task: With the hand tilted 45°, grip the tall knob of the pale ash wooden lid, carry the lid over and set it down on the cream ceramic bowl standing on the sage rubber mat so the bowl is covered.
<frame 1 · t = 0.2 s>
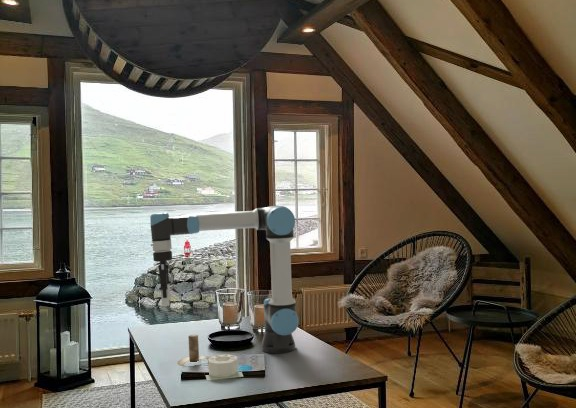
hand: (166, 302, 233), 27 cm above the table, tool pointing down, fingers open, 13 cm apart
lid: (194, 362, 240), on the table
mat: (223, 374, 224), on the table
bowl: (223, 372, 224), resting on mat
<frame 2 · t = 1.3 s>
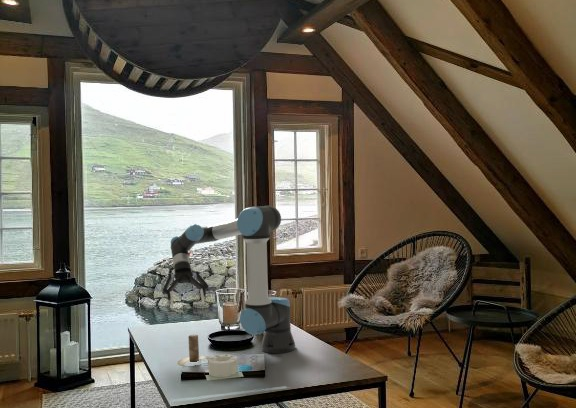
hand: (188, 304, 250), 23 cm above the table, tool tilted 45°, fingers open, 13 cm apart
nothing on the table moved.
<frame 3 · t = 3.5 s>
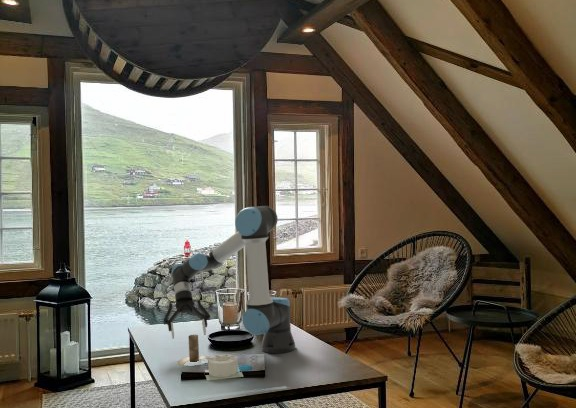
hand: (189, 335, 245), 10 cm above the table, tool tilted 45°, fingers open, 13 cm apart
nothing on the table moved.
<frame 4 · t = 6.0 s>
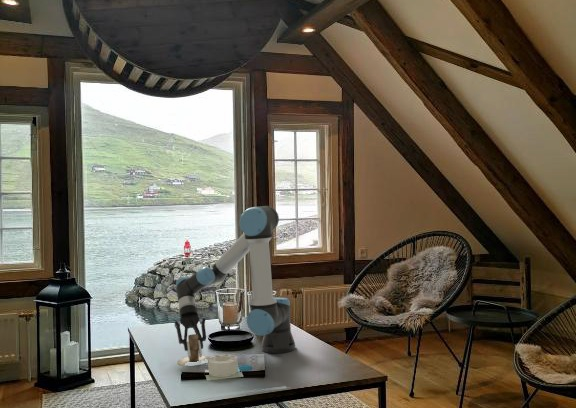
hand: (195, 356, 237), 4 cm above the table, tool tilted 45°, fingers closed on lid, 4 cm apart
lid: (194, 362, 240), on the table, touching gripper
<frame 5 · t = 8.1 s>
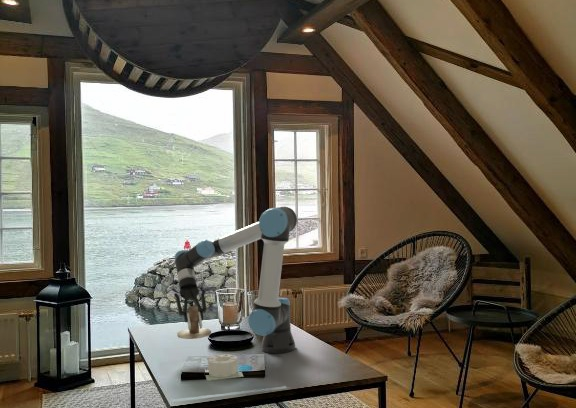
hand: (195, 327, 235), 16 cm above the table, tool tilted 45°, fingers closed on lid, 4 cm apart
lid: (194, 334, 238), point 12 cm above the table, touching gripper
when the fingers open (11 cm above the table, at t = 10.5 s): lid drops 1 cm, resting on bowl.
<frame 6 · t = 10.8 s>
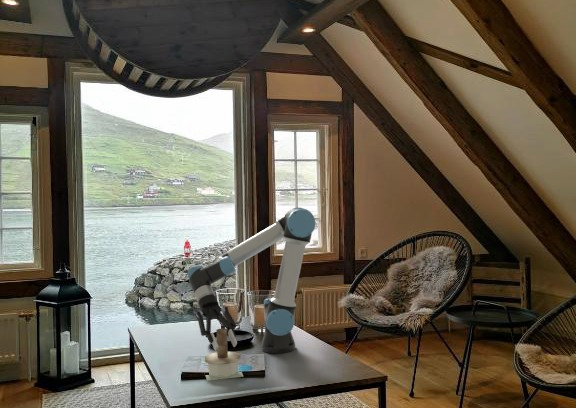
hand: (226, 346, 221), 12 cm above the table, tool tilted 45°, fingers open, 7 cm apart
lid: (222, 358, 224), point 6 cm above the table, touching bowl
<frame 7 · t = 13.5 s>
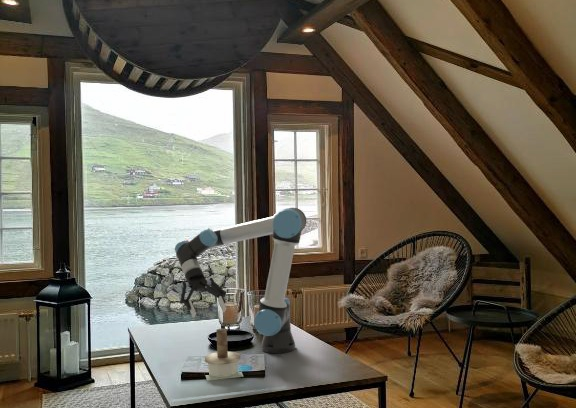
hand: (209, 313, 232), 22 cm above the table, tool tilted 45°, fingers open, 13 cm apart
nothing on the table moved.
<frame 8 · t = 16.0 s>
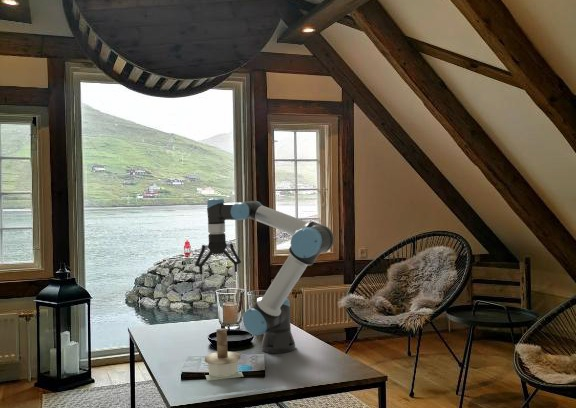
hand: (218, 280, 255), 32 cm above the table, tool pointing down, fingers open, 13 cm apart
nothing on the table moved.
at the end: lid 0.1 cm from the bowl (horizontally); lid point 6.1 cm above the table; lid tilted 0° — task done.
